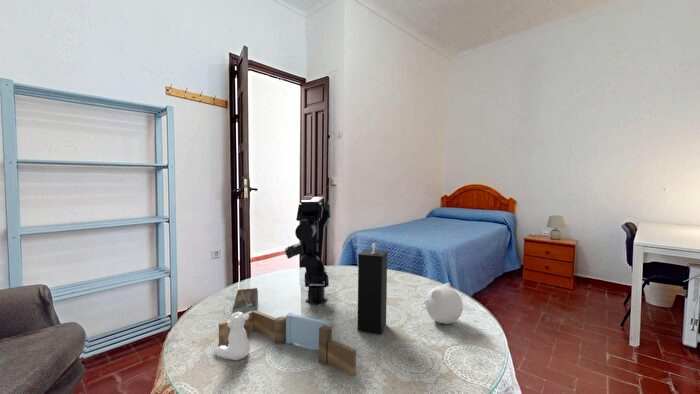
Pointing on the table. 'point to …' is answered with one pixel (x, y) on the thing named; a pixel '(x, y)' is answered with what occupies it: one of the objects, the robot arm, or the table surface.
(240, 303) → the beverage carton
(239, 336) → the sitting furry creature
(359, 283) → the black pillar candle
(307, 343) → the gate
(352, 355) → the pen fence
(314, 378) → the table surface
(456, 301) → the cat head
